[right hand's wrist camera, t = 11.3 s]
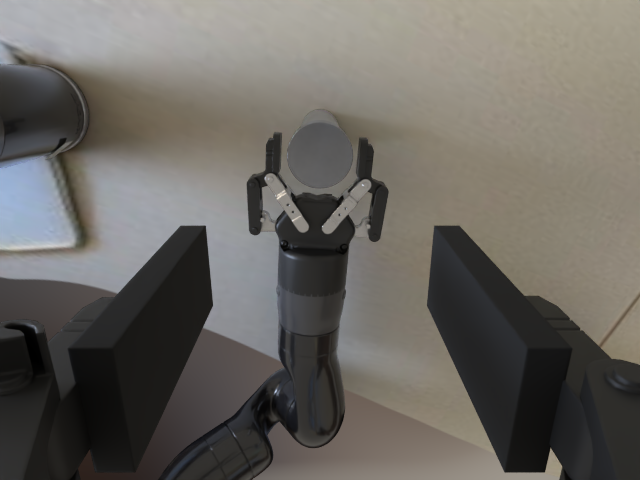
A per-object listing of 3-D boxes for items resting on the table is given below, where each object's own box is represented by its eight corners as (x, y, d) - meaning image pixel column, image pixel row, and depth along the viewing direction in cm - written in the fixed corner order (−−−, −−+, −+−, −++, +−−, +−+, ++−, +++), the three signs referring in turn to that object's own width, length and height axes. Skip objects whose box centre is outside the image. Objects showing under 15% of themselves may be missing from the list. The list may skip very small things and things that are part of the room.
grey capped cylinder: (306, 151, 52) (300, 188, 35) (297, 114, 50) (285, 134, 33) (342, 141, 51) (353, 174, 34) (333, 104, 50) (340, 120, 33)
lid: (298, 189, 36) (297, 195, 34) (281, 129, 35) (279, 132, 33) (357, 174, 36) (359, 179, 34) (343, 112, 34) (344, 114, 32)
